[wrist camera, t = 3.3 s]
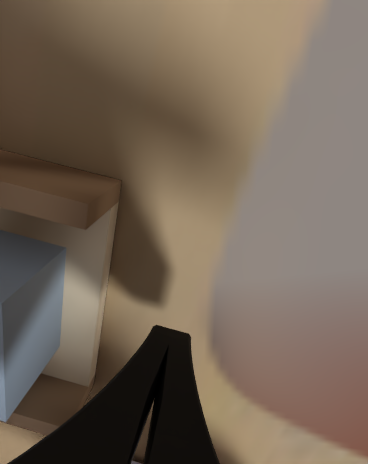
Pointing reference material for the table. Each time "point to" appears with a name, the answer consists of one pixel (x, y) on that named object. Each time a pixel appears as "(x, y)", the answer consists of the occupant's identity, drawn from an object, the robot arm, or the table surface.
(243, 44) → the table surface
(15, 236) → the block
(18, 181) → the lane
